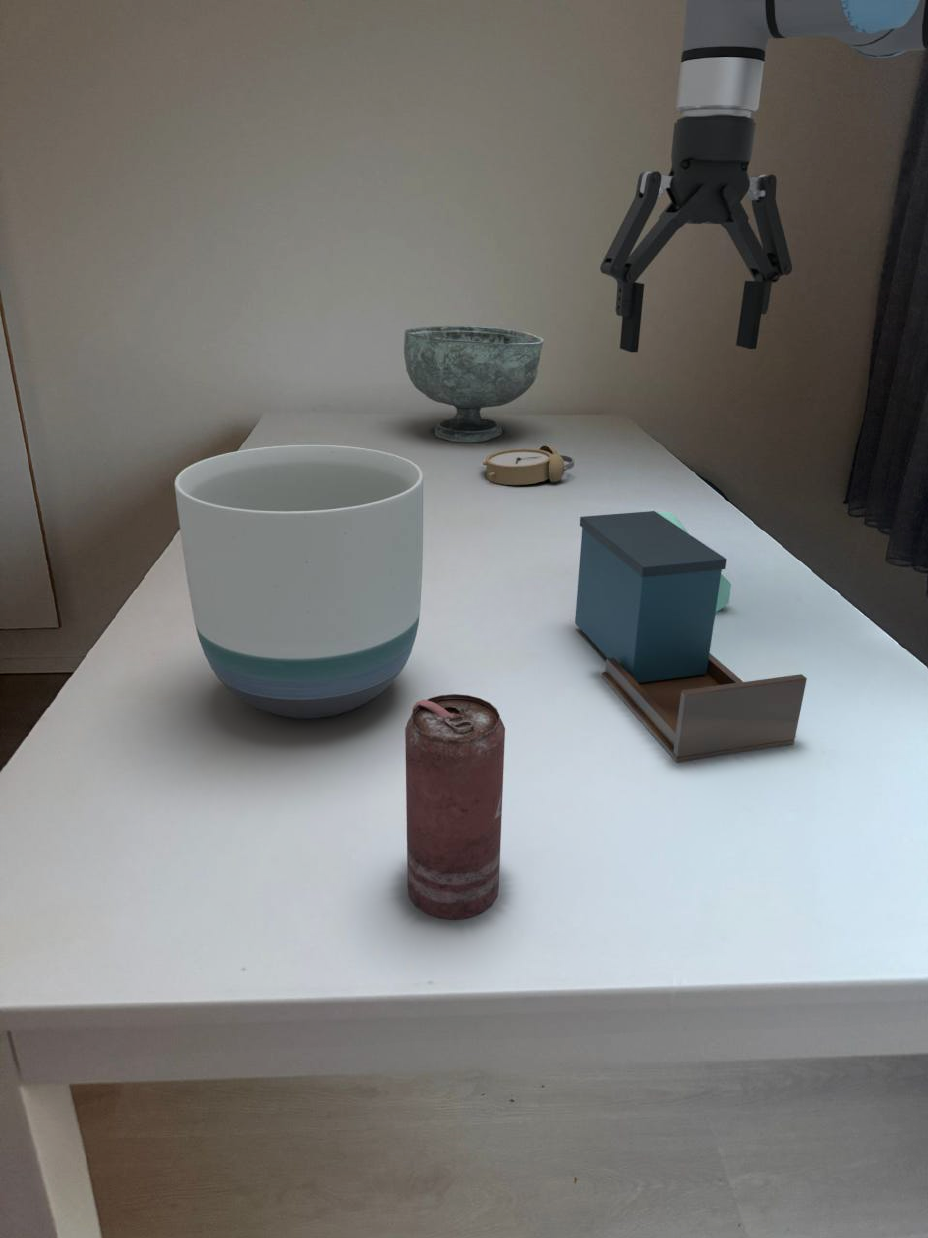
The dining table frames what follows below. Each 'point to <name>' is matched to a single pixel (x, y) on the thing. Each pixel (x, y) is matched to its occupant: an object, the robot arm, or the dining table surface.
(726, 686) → the wooden drawer
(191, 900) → the dining table surface
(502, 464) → the alarm clock
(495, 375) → the decorative bowl
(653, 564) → the storage container
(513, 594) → the dining table surface
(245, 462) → the planter
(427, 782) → the can
